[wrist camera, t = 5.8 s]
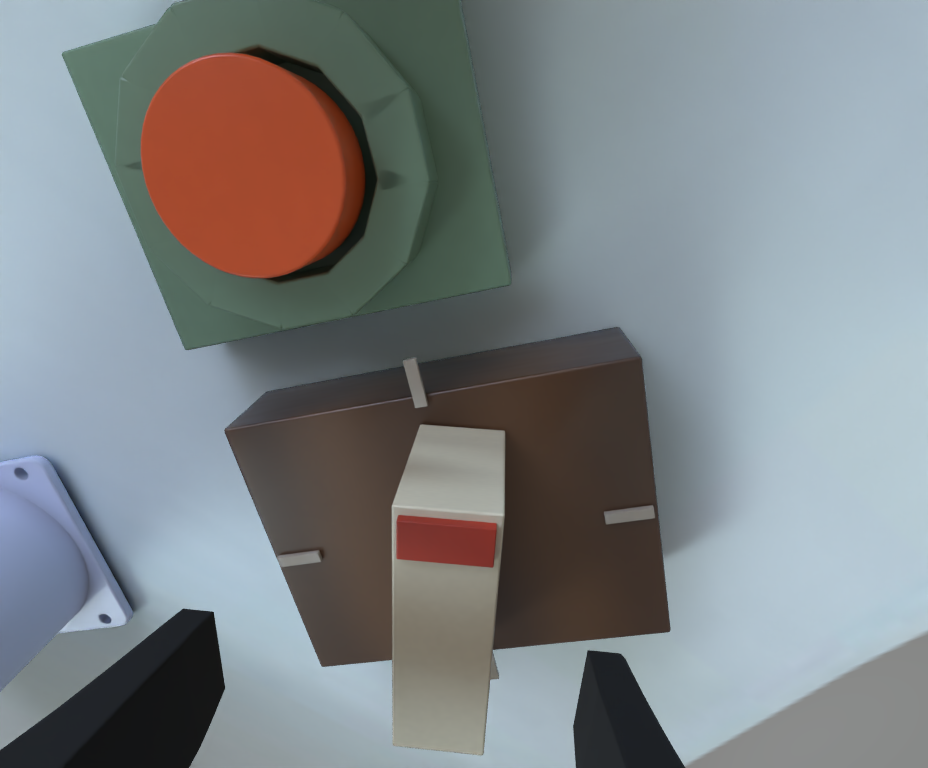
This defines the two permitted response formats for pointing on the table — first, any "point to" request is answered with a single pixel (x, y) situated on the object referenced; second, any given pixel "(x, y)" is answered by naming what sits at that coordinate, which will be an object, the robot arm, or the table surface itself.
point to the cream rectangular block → (446, 586)
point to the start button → (251, 165)
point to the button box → (380, 138)
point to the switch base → (526, 490)
